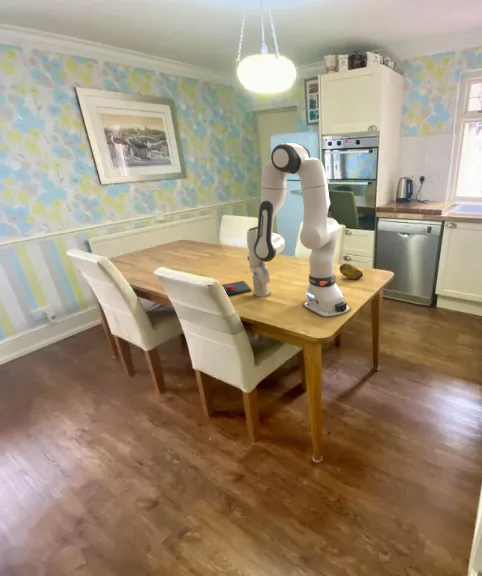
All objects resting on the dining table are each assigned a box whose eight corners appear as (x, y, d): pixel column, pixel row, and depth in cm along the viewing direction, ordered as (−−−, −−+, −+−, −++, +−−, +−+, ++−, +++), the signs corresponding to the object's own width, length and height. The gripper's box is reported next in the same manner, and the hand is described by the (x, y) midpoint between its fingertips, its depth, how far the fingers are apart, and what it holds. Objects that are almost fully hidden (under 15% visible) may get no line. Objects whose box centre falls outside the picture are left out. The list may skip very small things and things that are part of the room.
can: (266, 297, 158) (264, 275, 154) (252, 297, 160) (249, 274, 155) (271, 292, 165) (269, 270, 161) (257, 291, 167) (255, 269, 162)
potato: (356, 282, 174) (356, 268, 171) (337, 277, 182) (337, 264, 179) (364, 278, 180) (364, 264, 177) (345, 273, 187) (345, 260, 184)
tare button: (233, 289, 162) (233, 286, 162) (227, 291, 161) (227, 287, 160) (232, 287, 165) (231, 284, 164) (226, 289, 164) (225, 285, 163)
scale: (251, 292, 166) (250, 286, 165) (226, 297, 160) (225, 291, 159) (243, 282, 178) (242, 277, 177) (220, 287, 173) (219, 282, 171)
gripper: (271, 264, 148) (274, 291, 154) (258, 253, 165) (260, 278, 170) (258, 266, 146) (261, 294, 151) (246, 255, 162) (249, 281, 168)
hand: (261, 286), depth 161 cm, fingers closed on can, 7 cm apart
